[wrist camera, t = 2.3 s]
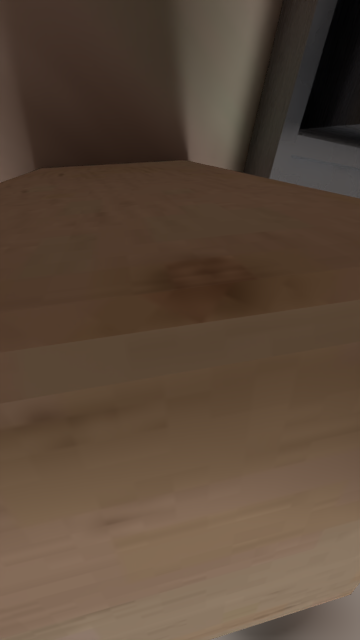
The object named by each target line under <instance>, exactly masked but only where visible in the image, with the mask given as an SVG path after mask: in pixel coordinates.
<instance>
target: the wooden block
mask: <svg viewBox="0 0 360 640" xmlns="http://www.w3.org/2000/svg"><path fill="white" fill-rule="evenodd" d="M359 583H360V198H355V197H351V196H346V195H341V194H337V193H332V192H328V191H323V190H319V189H314V188H309V187H305V186H300V185H296V184H291V183H287V182H282V181H278V180H273V179H268V178H264V177H259V176H255V175H250V174H246V173H241V172H236V171H232V170H227V169H223V168H218V167H214V166H209V165H205V164H200V163H195V162H191V161H186V160H177V161H159V162H142V163H124V164H107V165H90V166H72V167H55V168H41V169H38V170H35V171H32V172H30V173H27V174H24V175H21V176H18V177H16V178H13V179H10V180H7V181H4V182H1V183H0V640H211V639H214V638H217V637H220V636H223V635H226V634H229V633H232V632H235V631H238V630H241V629H244V628H248V627H251V626H254V625H257V624H260V623H263V622H266V621H269V620H273V619H276V618H279V617H282V616H285V615H288V614H291V613H295V612H298V611H301V610H304V609H307V608H310V607H313V606H316V605H319V604H323V603H325V602H329V601H331V600H335V599H338V598H341V597H344V596H347V595H350V594H351V593H352V592H353V591H354V589H355V588H356V587H357V586H358V584H359Z"/></svg>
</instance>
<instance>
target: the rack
mask: <svg viewBox="0 0 360 640" xmlns="http://www.w3.org/2000/svg"><path fill="white" fill-rule="evenodd" d="M244 173H246V174H250V175H255V176H259V177H264V178H268V179H273V180H278V181H282V182H287V183H291V184H296V185H300V186H305V187H309V188H314V189H319V190H323V191H328V192H332V193H337V194H341V195H346V196H351V197H355V198H360V0H284V1H283V5H282V9H281V14H280V18H279V22H278V26H277V31H276V35H275V39H274V44H273V48H272V52H271V57H270V61H269V65H268V69H267V74H266V78H265V82H264V87H263V91H262V95H261V100H260V104H259V108H258V113H257V117H256V121H255V125H254V130H253V134H252V138H251V143H250V147H249V151H248V156H247V160H246V164H245V169H244Z"/></svg>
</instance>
